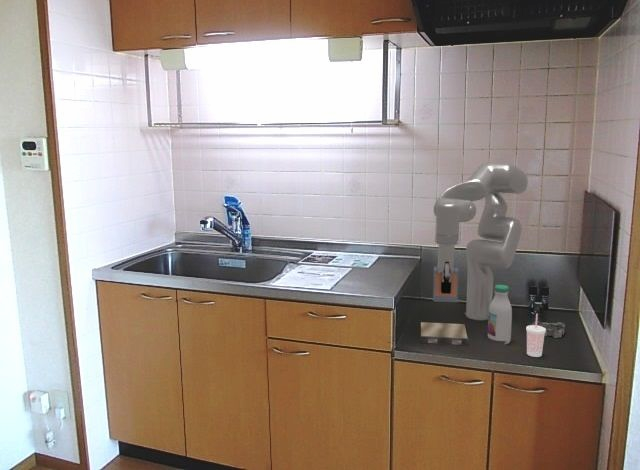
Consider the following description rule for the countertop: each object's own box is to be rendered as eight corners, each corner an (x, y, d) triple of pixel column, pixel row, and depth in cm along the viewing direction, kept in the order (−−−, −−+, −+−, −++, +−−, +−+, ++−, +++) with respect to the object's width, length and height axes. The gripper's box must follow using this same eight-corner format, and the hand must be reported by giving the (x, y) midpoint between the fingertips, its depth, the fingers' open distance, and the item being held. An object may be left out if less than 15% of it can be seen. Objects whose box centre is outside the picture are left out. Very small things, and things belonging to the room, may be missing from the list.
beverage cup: (543, 351, 187) (545, 311, 184) (545, 358, 181) (548, 317, 178) (523, 349, 188) (526, 310, 186) (525, 356, 183) (527, 316, 180)
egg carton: (566, 333, 202) (567, 323, 202) (559, 340, 197) (560, 329, 196) (536, 327, 209) (537, 316, 208) (529, 333, 203) (529, 322, 203)
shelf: (464, 328, 209) (464, 319, 208) (468, 349, 189) (469, 339, 188) (420, 325, 212) (421, 317, 211) (420, 346, 192) (420, 337, 191)
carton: (456, 297, 194) (457, 267, 192) (457, 302, 189) (458, 271, 187) (433, 296, 196) (433, 266, 194) (433, 301, 191) (434, 270, 189)
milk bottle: (510, 338, 198) (513, 284, 194) (510, 346, 191) (513, 290, 187) (488, 335, 201) (490, 282, 197) (486, 343, 194) (489, 288, 190)
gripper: (435, 233, 197) (433, 283, 201) (436, 244, 181) (434, 297, 184) (457, 234, 196) (455, 284, 199) (460, 244, 179) (458, 298, 183)
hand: (445, 290), depth 192 cm, fingers closed on carton, 5 cm apart
